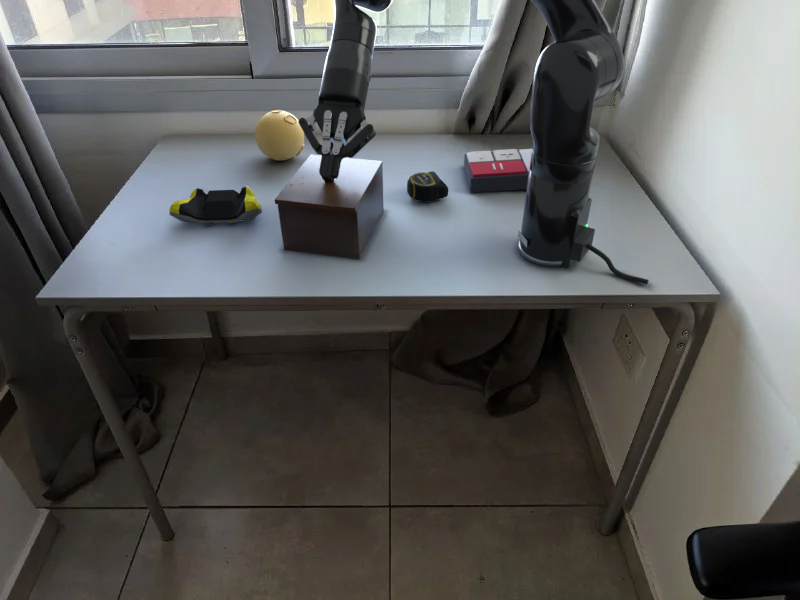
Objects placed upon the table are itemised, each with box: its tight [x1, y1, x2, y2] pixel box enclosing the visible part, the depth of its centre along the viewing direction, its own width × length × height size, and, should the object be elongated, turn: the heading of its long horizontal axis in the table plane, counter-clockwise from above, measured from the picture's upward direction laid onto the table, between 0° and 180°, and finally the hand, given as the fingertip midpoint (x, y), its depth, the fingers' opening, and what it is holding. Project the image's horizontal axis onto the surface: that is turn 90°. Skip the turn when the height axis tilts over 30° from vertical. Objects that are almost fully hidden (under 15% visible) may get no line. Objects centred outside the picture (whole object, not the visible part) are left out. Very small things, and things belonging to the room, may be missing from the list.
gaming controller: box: [169, 185, 263, 226], centre depth 107 cm, size 15×6×10 cm
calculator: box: [463, 148, 532, 193], centre depth 120 cm, size 11×4×15 cm
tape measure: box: [406, 170, 449, 203], centre depth 114 cm, size 7×7×4 cm
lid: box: [274, 153, 383, 213], centre depth 100 cm, size 17×13×1 cm
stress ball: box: [254, 109, 305, 161], centre depth 126 cm, size 10×10×10 cm
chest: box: [277, 165, 385, 260], centre depth 103 cm, size 16×13×9 cm
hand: (327, 179), depth 98 cm, fingers closed
